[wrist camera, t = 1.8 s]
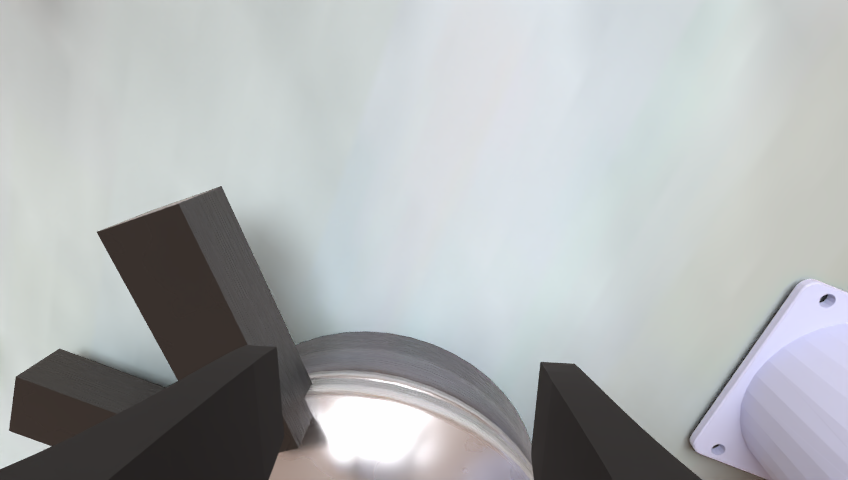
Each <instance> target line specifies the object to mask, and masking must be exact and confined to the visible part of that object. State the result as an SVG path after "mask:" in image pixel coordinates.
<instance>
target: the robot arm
mask: <svg viewBox="0 0 848 480" xmlns="http://www.w3.org/2000/svg"><path fill="white" fill-rule="evenodd" d="M826 294H827V295H828V296H827V298H826V299H825V300H824V301H823V302H820V303H819V301H820V298H821V297H822V296H824V295H826ZM283 439H284V426H283V414H282V402H281V390H280V378H279V366H278V354H277V347H271V346H253V345H245V346H243V347H240V348H238V349H236V350H234V351H232V352H230V353H228V354H226V355H224V356H222V357H221V358H219V359H217V360H215V361H213V362H211V363H210V364H208V365H206V366H204V367H202V368H201V369H199V370H197V371H195V372H194V373H192V374H190V375H188V376H186V377H185V378H183V379H181V380H179V381H177V382H176V383H174V384H172V385H170V386H168V387H167V388H165V389H163V390H161V391H160V392H158V393H156V394H154V395H152V396H151V397H149V398H147V399H145V400H143V401H141V402H139V403H137V404H136V405H134V406H132V407H130V408H128V409H126V410H124V411H122V412H120V413H118V414H116V415H114V416H112V417H110V418H108V419H106V420H105V421H103V422H101V423H99V424H97V425H95V426H93V427H91V428H89V429H87V430H85V431H83V432H81V433H79V434H77V435H75V436H73V437H71V438H69V439H67V440H65V441H63V442H61V443H58V444H56V445H54V446H52V447H50V448H48V449H46V450H43V451H41V452H39V453H37V454H35V455H32V456H30V457H28V458H25V459H23V460H21V461H19V462H16V463H14V464H12V465H9V466H7V467H5V468H2V469H0V480H269V478H270V475H271V472H272V470H273V467H274V465H275V462H276V459H277V456H278V453H279V450H280V448H281V445H282V442H283ZM690 443H691V445H692V447H693V448H694V450H695V451H696V452H697V453H699V454H701V455H704V456H707V457H709V458H712V459H714V460H717V461H720V462H722V463H725V464H727V465H730V466H733V467H735V468H738V469H741V470H743V471H746V472H748V473H751V474H754V475H756V476H759V477H761V478H764V479H767V480H848V292H846V291H843V290H841V289H838V288H836V287H833V286H831V285H828V284H826V283H823V282H821V281H818V280H815V279H806V280H803V281H801V282H799V283H798V284H797V286H796V287H795V288H794V289H793V291H792V292H791V294H790V295H789V296H788V298H787V299H786V301H785V302H784V304H783V305H782V306H781V308H780V309H779V311H778V312H777V314H776V315H775V316H774V318H773V319H772V321H771V322H770V324H769V325H768V326H767V328H766V329H765V331H764V332H763V334H762V335H761V336H760V338H759V339H758V341H757V342H756V343H755V345H754V346H753V348H752V349H751V351H750V352H749V353H748V355H747V356H746V358H745V359H744V361H743V362H742V363H741V365H740V366H739V368H738V369H737V371H736V372H735V373H734V375H733V376H732V378H731V379H730V381H729V382H728V383H727V385H726V386H725V388H724V389H723V391H722V392H721V393H720V395H719V396H718V398H717V399H716V401H715V402H714V403H713V405H712V406H711V408H710V409H709V411H708V412H707V413H706V415H705V416H704V418H703V419H702V421H701V422H700V423H699V425H698V426H697V428H696V429H695V431H694V432H693V433H692V435H691V437H690ZM717 444H720V445H719V446H718V447H715V448H712V447H713V446H714V445H717ZM531 460H532V468H533V477H534V480H702V479H700V478H699V477H698V476H697V475H696V474H694V473H693V472H692V471H691V470H690V469H688V468H687V467H686V466H685V465H684V464H682V463H681V462H680V461H679V460H678V459H676V458H675V457H674V456H673V455H672V454H670V453H669V452H668V451H667V450H666V449H665V448H664V447H662V446H661V445H660V444H659V443H658V442H657V441H656V440H654V439H653V438H652V437H651V436H650V435H649V434H648V433H647V432H646V431H645V430H643V429H642V428H641V427H640V426H639V425H638V424H637V423H636V422H635V421H634V420H633V419H632V418H630V417H629V416H628V415H627V414H626V413H625V412H624V411H623V410H622V409H621V408H620V407H619V406H618V405H617V404H616V403H615V402H614V401H613V400H612V399H611V398H610V397H609V396H608V395H606V394H605V393H604V392H603V391H602V390H601V389H600V388H599V387H598V386H597V385H596V384H595V383H594V382H593V381H592V380H591V379H590V378H589V377H588V376H587V375H586V374H585V373H584V372H583V371H582V370H581V369H580V368H579V367H577V366H576V365H575V364H566V363H549V362H541V363H540V373H539V382H538V391H537V401H536V410H535V420H534V429H533V439H532V448H531Z"/></svg>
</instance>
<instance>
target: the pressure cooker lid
mask: <svg viewBox="0 0 848 480" xmlns="http://www.w3.org/2000/svg"><path fill="white" fill-rule="evenodd" d="M97 233H98V235H99V237H100V239H101V241H102V243H103V244H104V246H105V248H106V250H107V252H108V253H109V255H110V257H111V259H112V261H113V263H114V264H115V266H116V268H117V270H118V272H119V274H120V275H121V277H122V279H123V281H124V283H125V284H126V286H127V288H128V290H129V292H130V294H131V295H132V297H133V299H134V301H135V303H136V305H137V306H138V308H139V310H140V312H141V314H142V315H143V317H144V319H145V321H146V323H147V325H148V326H149V328H150V330H151V332H152V334H153V336H154V337H155V339H156V341H157V343H158V345H159V346H160V348H161V350H162V352H163V354H164V356H165V357H166V359H167V361H168V363H169V365H170V367H171V368H172V370H173V372H174V374H175V376H176V377H177V379H178V381H179V380H181V379H183V378H185V377H186V376H188V375H190V374H192V373H194V372H195V371H197V370H199V369H201V368H202V367H204V366H206V365H208V364H210V363H211V362H213V361H215V360H217V359H219V358H221V357H222V356H224V355H226V354H228V353H230V352H232V351H234V350H236V349H238V348H240V347H243V346H245V345H253V346H271V347H277V354H278V366H279V378H280V390H281V402H282V414H283V426H284V439H283V442H282V445H281V448H280V450H279V453H278V456H277V459H276V462H275V465H274V467H273V470H272V472H271V475H270V478H269V480H534V477H533V471H532V470H531V468H530V467H529V466H528V465H527V464H526V462H525V461H524V460H523V459H522V458H521V456H520V455H519V454H518V453H517V452H516V450H515V449H514V448H513V447H512V446H510V445H509V444H508V443H507V442H506V441H505V440H504V439H503V438H502V437H501V436H499V435H498V434H497V433H496V432H495V431H494V430H492V429H491V428H489V427H488V426H487V425H485V424H484V423H482V422H481V421H479V420H478V419H477V418H475V417H474V416H472V415H470V414H469V413H467V412H465V411H463V410H461V409H459V408H458V407H456V406H454V405H452V404H450V403H448V402H446V401H443V400H441V399H438V398H436V397H433V396H431V395H428V394H426V393H423V392H421V391H417V390H414V389H410V388H406V387H403V386H399V385H396V384H392V383H385V382H379V381H372V380H366V379H349V378H326V379H313V380H311V379H310V377H309V375H308V373H307V371H306V368H305V366H304V364H303V362H302V360H301V358H300V355H299V353H298V351H297V349H296V347H295V345H294V342H293V340H292V338H291V336H290V334H289V332H288V329H287V327H286V325H285V323H284V321H283V319H282V316H281V314H280V312H279V310H278V308H277V306H276V303H275V301H274V299H273V297H272V295H271V293H270V290H269V288H268V286H267V284H266V282H265V280H264V277H263V275H262V273H261V271H260V269H259V267H258V264H257V262H256V260H255V258H254V256H253V254H252V251H251V249H250V247H249V245H248V243H247V241H246V238H245V236H244V234H243V232H242V230H241V228H240V225H239V223H238V221H237V219H236V217H235V215H234V212H233V210H232V208H231V206H230V204H229V202H228V199H227V197H226V195H225V193H224V191H223V189H222V186H220V187H218V188H215V189H212V190H209V191H206V192H203V193H200V194H198V195H195V196H192V197H189V198H186V199H183V200H180V201H178V202H175V203H172V204H169V205H166V206H163V207H160V208H158V209H155V210H152V211H149V212H147V213H144V214H141V215H139V216H136V217H134V218H131V219H129V220H126V221H124V222H121V223H119V224H116V225H113V226H111V227H108V228H106V229H103V230H101V231H98V232H97Z"/></svg>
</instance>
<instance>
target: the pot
mask: <svg viewBox="0 0 848 480" xmlns="http://www.w3.org/2000/svg"><path fill="white" fill-rule="evenodd" d="M295 347H296V349H297V351H298V353H299V355H300V358H301V360H302V362H303V364H304V366H305V368H306V371H307V373H308V375H309V377H310V379H311V380H313V379H326V378H349V379H366V380H372V381H379V382H385V383H392V384H396V385H399V386H403V387H406V388H410V389H414V390H417V391H421V392H423V393H426V394H428V395H431V396H433V397H436V398H438V399H441V400H443V401H446V402H448V403H450V404H452V405H454V406H456V407H458V408H459V409H461V410H463V411H465V412H467V413H469V414H470V415H472V416H474V417H475V418H477V419H478V420H479V421H481V422H482V423H484V424H485V425H487V426H488V427H489V428H491V429H492V430H494V431H495V432H496V433H497V434H498V435H499V436H501V437H502V438H503V439H504V440H505V441H506V442H507V443H508V444H509V445H510V446H512V447H513V448H514V449H515V450H516V452H517V453H518V454H519V455H520V456H521V458H522V459H523V460H524V461H525V462H526V464H527V465H528V466H529V467H530V468H531V470H532V471H533V468H532V460H531V448H532V444H531V441H530V439H529V436H528V433H527V430H526V428H525V425H524V423H523V422H522V420H521V418H520V416H519V414H518V412H517V411H516V409H515V408H514V406H513V405H512V404H511V402H510V401H509V399H508V398H507V397H506V395H505V394H504V393H503V392H502V391H501V390H500V389H499V388H498V387H497V386H496V385H495V384H494V383H493V382H492V381H491V380H490V379H489V378H488V377H487V376H486V375H484V374H483V373H482V372H480V371H479V370H478V369H477V368H475V367H474V366H473V365H471V364H470V363H468V362H466V361H465V360H463V359H461V358H460V357H458V356H456V355H455V354H453V353H451V352H449V351H446V350H444V349H442V348H440V347H437V346H435V345H433V344H430V343H427V342H424V341H420V340H417V339H414V338H411V337H406V336H400V335H395V334H390V333H378V332H346V333H339V334H333V335H327V336H322V337H318V338H315V339H312V340H308V341H305V342H302V343H300V344H298V345H295ZM163 389H165V387H162V386H159V385H157V384H154V383H151V382H148V381H146V380H143V379H140V378H138V377H135V376H132V375H129V374H127V373H124V372H121V371H119V370H116V369H113V368H111V367H108V366H105V365H102V364H100V363H97V362H94V361H92V360H89V359H86V358H83V357H81V356H78V355H75V354H73V353H70V352H67V351H65V350H62V349H58V350H57V351H55V352H54V353H52V354H50V355H49V356H47V357H46V358H44V359H43V360H41V361H40V362H38V363H37V364H35V365H33V366H32V367H30V368H29V369H27V370H26V371H24V372H23V373H21V374H19V375H18V376H16V380H15V388H14V396H13V404H12V412H11V420H10V428H9V431H11V432H14V433H17V434H20V435H22V436H25V437H28V438H31V439H33V440H36V441H39V442H42V443H44V444H47V445H50V446H54V445H56V444H58V443H61V442H63V441H65V440H67V439H69V438H71V437H73V436H75V435H77V434H79V433H81V432H83V431H85V430H87V429H89V428H91V427H93V426H95V425H97V424H99V423H101V422H103V421H105V420H106V419H108V418H110V417H112V416H114V415H116V414H118V413H120V412H122V411H124V410H126V409H128V408H130V407H132V406H134V405H136V404H137V403H139V402H141V401H143V400H145V399H147V398H149V397H151V396H152V395H154V394H156V393H158V392H160V391H161V390H163Z"/></svg>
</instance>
